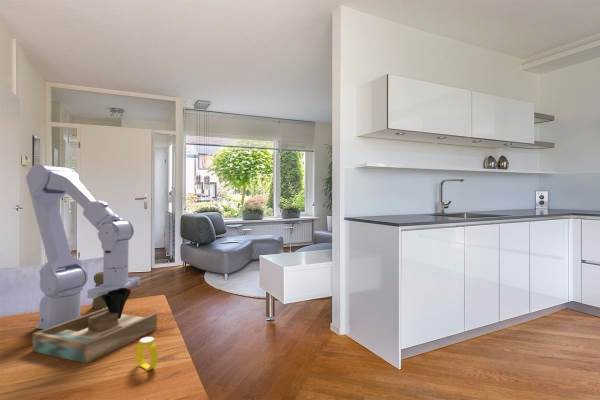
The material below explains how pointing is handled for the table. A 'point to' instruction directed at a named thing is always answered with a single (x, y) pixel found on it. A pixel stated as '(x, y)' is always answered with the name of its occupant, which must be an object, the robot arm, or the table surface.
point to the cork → (99, 300)
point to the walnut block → (102, 321)
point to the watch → (153, 352)
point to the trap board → (90, 337)
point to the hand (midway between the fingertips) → (115, 318)
